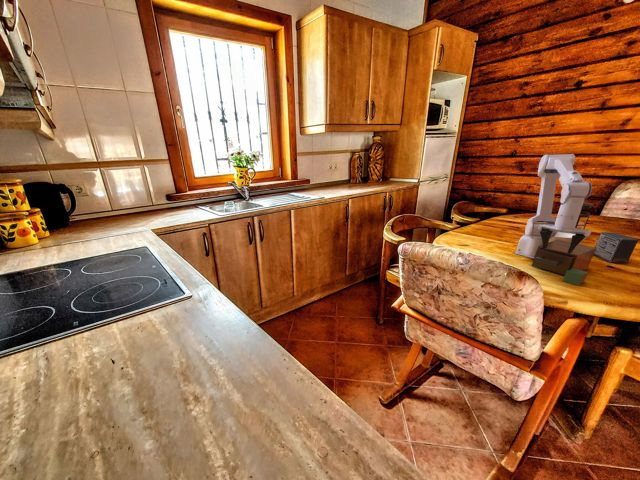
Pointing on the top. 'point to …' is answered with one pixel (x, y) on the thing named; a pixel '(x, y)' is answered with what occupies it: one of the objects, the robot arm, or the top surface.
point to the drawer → (552, 261)
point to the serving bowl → (563, 237)
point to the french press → (584, 206)
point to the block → (575, 276)
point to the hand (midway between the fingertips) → (556, 250)
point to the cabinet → (580, 253)
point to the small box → (614, 247)
